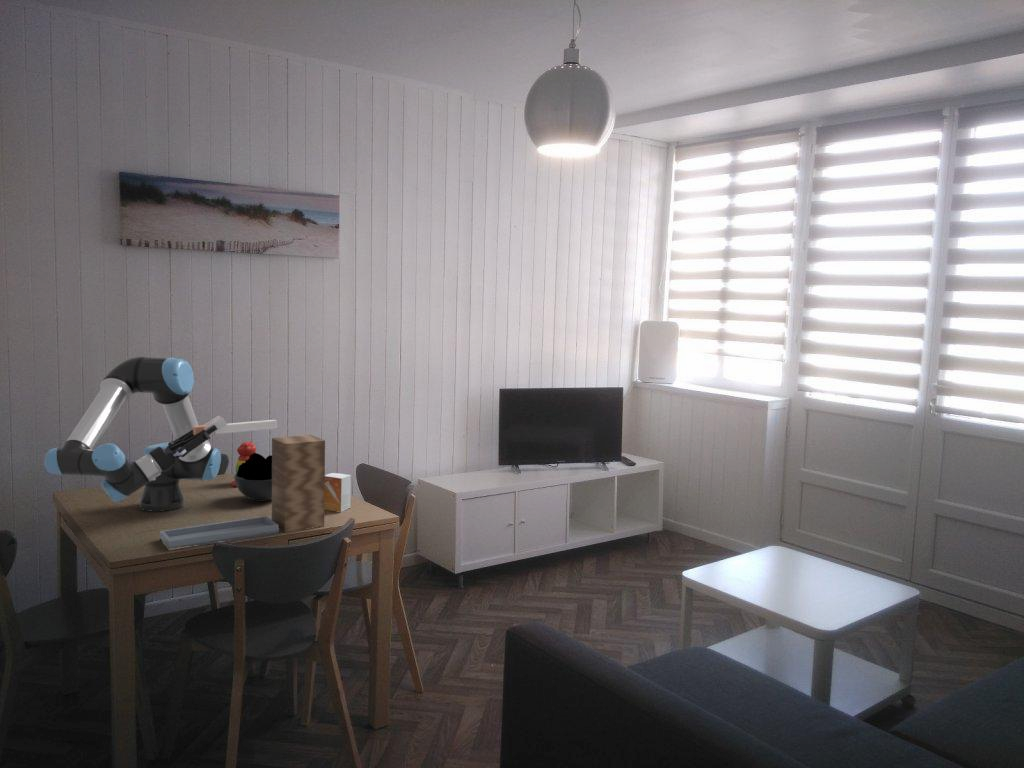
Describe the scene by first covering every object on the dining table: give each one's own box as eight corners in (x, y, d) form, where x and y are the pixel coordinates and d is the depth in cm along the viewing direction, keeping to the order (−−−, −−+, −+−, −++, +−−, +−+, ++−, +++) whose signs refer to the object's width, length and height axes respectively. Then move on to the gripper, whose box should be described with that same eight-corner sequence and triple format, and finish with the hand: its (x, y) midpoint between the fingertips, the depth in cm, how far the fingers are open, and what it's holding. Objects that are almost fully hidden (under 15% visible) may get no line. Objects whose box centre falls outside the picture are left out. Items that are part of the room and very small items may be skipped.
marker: (195, 435, 238) (195, 427, 238) (193, 434, 240) (192, 426, 240) (277, 428, 254) (277, 420, 253) (274, 427, 256) (274, 419, 255)
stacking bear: (241, 480, 323) (241, 438, 321) (264, 482, 322) (264, 440, 320) (228, 486, 312) (228, 443, 310) (252, 488, 311) (252, 445, 309)
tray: (169, 550, 233) (169, 541, 233) (159, 540, 243) (159, 531, 242) (278, 533, 254) (278, 524, 253) (265, 524, 263) (265, 515, 263)
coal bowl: (230, 507, 282) (230, 457, 280) (238, 493, 301) (238, 446, 299) (286, 506, 286) (286, 457, 284) (291, 493, 305) (291, 446, 303)
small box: (322, 509, 283) (322, 475, 282) (332, 505, 289) (332, 472, 288) (341, 512, 280) (341, 478, 279) (350, 508, 286) (351, 474, 285)
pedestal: (284, 532, 255) (285, 444, 252) (271, 523, 264) (272, 438, 261) (324, 526, 263) (325, 440, 260) (310, 517, 273) (311, 434, 270)
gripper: (155, 468, 240) (221, 425, 251) (168, 478, 228) (237, 433, 239) (142, 449, 237) (209, 406, 248) (154, 458, 225) (224, 413, 236)
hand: (222, 419), depth 244 cm, fingers closed on marker, 3 cm apart
